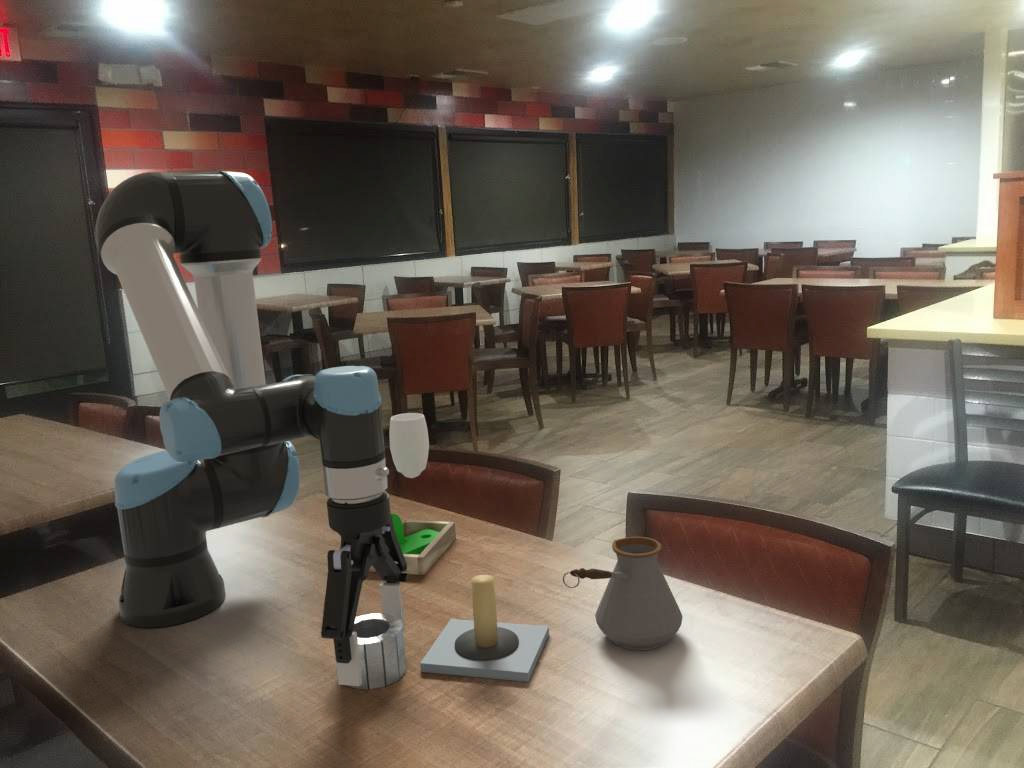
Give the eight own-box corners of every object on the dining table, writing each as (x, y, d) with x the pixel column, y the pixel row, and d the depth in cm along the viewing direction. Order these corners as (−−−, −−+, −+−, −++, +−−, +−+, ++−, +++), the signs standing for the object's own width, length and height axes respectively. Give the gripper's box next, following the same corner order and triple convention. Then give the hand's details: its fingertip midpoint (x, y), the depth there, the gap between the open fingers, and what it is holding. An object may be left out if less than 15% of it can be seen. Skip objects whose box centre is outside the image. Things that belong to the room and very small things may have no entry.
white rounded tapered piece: (442, 520, 160) (434, 413, 156) (418, 532, 154) (410, 422, 150) (412, 514, 164) (404, 411, 160) (388, 526, 158) (379, 419, 154)
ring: (330, 685, 104) (326, 641, 103) (358, 653, 112) (354, 611, 110) (390, 691, 102) (386, 646, 101) (414, 658, 110) (411, 615, 108)
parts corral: (367, 571, 138) (365, 554, 137) (403, 535, 153) (402, 519, 152) (424, 575, 135) (423, 557, 135) (455, 537, 150) (454, 521, 150)
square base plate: (420, 671, 106) (414, 596, 104) (451, 626, 118) (446, 558, 116) (528, 681, 103) (524, 604, 101) (549, 634, 114) (545, 563, 112)
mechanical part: (394, 569, 138) (388, 523, 137) (373, 561, 142) (367, 516, 141) (449, 545, 146) (444, 502, 145) (428, 539, 150) (423, 496, 149)
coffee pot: (624, 608, 120) (621, 509, 117) (697, 629, 113) (696, 524, 110) (535, 676, 104) (529, 562, 101) (614, 705, 97) (611, 583, 94)
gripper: (339, 531, 89) (358, 713, 93) (422, 465, 113) (435, 612, 117) (276, 529, 91) (298, 707, 95) (371, 464, 115) (385, 609, 119)
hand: (373, 655), depth 106 cm, fingers open, 13 cm apart
